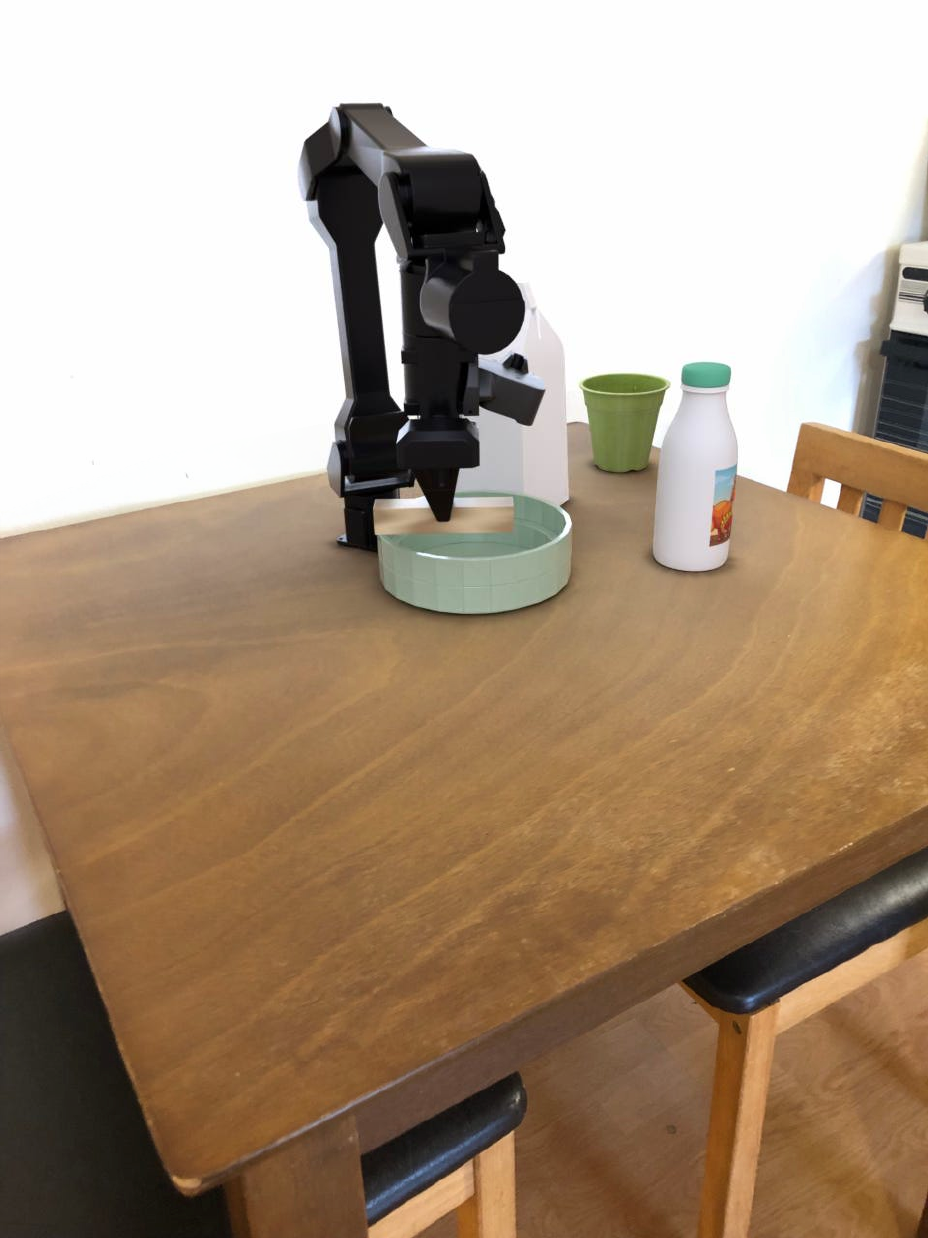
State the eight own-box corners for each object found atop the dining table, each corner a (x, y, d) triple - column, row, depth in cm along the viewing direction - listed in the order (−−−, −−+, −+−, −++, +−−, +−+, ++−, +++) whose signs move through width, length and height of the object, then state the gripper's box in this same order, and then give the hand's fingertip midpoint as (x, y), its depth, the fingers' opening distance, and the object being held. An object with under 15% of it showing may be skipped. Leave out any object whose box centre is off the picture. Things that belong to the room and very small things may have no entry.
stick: (374, 535, 81) (373, 508, 79) (377, 524, 83) (375, 499, 82) (513, 532, 80) (513, 506, 79) (512, 522, 83) (512, 496, 81)
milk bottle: (684, 579, 93) (701, 377, 84) (637, 553, 99) (649, 363, 90) (743, 563, 96) (766, 367, 87) (694, 539, 103) (711, 354, 94)
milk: (436, 512, 112) (427, 284, 101) (485, 484, 121) (481, 272, 109) (524, 529, 107) (525, 290, 95) (568, 499, 115) (574, 276, 103)
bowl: (442, 530, 107) (440, 480, 104) (598, 559, 98) (601, 505, 96) (343, 595, 92) (338, 538, 89) (517, 635, 83) (517, 574, 81)
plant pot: (575, 452, 133) (578, 372, 128) (660, 453, 131) (666, 372, 126) (576, 478, 122) (579, 392, 117) (668, 479, 121) (675, 392, 116)
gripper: (549, 353, 65) (544, 557, 73) (532, 308, 82) (529, 478, 89) (390, 356, 66) (402, 560, 73) (405, 311, 82) (413, 480, 89)
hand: (443, 515), depth 81 cm, fingers closed on stick, 2 cm apart
